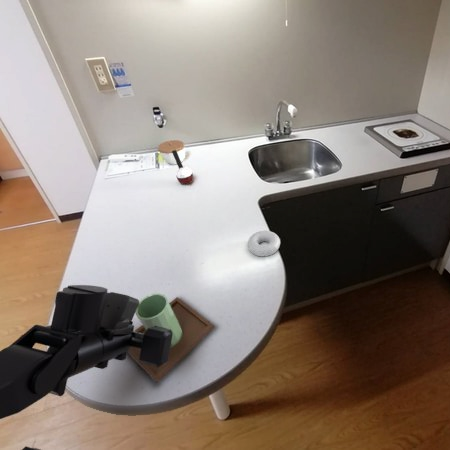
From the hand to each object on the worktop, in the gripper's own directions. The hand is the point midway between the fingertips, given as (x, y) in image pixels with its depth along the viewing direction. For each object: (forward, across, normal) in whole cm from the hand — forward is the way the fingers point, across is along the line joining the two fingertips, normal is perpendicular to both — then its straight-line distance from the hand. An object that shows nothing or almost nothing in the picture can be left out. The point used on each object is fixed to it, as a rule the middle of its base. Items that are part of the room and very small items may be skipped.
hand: (150, 327), depth 64 cm
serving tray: (+8, 0, +4) cm, 9 cm away
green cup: (+7, 0, +4) cm, 8 cm away
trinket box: (+62, +44, -51) cm, 92 cm away
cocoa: (+52, +30, -41) cm, 73 cm away
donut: (+32, -12, -20) cm, 39 cm away
